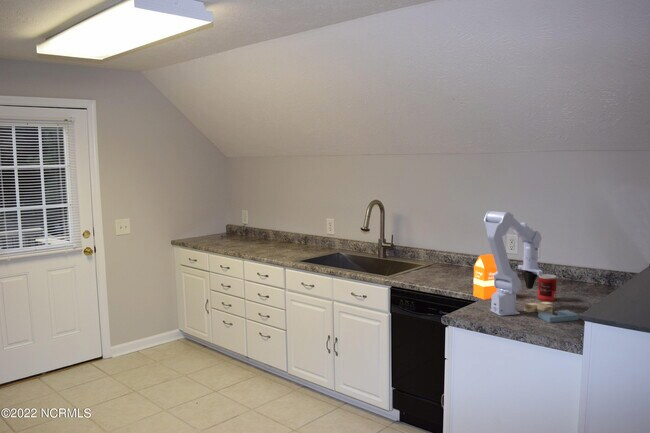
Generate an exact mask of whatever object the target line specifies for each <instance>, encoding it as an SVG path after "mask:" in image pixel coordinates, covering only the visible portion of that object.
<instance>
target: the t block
mask: <svg viewBox="0 0 650 433" xmlns="http://www.w3.org/2000/svg"><path fill="white" fill-rule="evenodd" d="M523 311H524V312H527V313H540V312H548V313H551V314H554V313H553V311H554V303H553V302H552V301H542V302H530V303H529V302H528V303H527V302H526V303H523Z"/></svg>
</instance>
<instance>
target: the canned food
mask: <svg viewBox="0 0 650 433" xmlns="http://www.w3.org/2000/svg"><path fill="white" fill-rule="evenodd" d="M537 298H538V300H540V301H542V302H554V301H556V299H557V275H554V274H548V273H543V275H540V276H538V284H537Z"/></svg>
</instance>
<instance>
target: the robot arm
mask: <svg viewBox="0 0 650 433" xmlns="http://www.w3.org/2000/svg"><path fill="white" fill-rule="evenodd" d="M483 218H484V219H483V223H484V226H485V231H486V234H487V235H486V236H487V240H488V244H489V248H490V250H491V253H492V254H493V258H494V261H495V265H496V268H497V272H496V273H495V274H494V276H493V277H494V286H495V288H496V289H497V291H498V292H496V293H493V294H492V298H491V299H490V300H491V304H490V306H491V307H490V309H489V310H490V312H492V313H494V314H496V315H498V316H500V317H501V316H511V315H520V314H521V312H519V311H517V293H519V291H520V290H521V289H522V288H521V287H522V281H521V279H520V278H519V276H518V273H516V272H515V271H514V270H513V269H511V264H510V262H509V261H510V260H509V257H508V253H507V251H506V246H505V243H504V239H503V236H506V235H507V233H508V231H509V229H510V228H511V229H512V230H513V232H514V234H515V235H516V236H518V237H519V238H520V240H521V242H522V243H523V261H522V263H523V264H518V268H517V269H518V270H522V272H521V275H522V277H523V279H524V283H525V287H526V289H527V290H531V289H534V284H535V281H536V279H537V278H538V277H539V276H540V275H543V274H544V273H543V272H544V270H541V269H540V267H538V261H539V260H538V258H539V257H538V256H539V252H538V251H539V248H540V244H541V241H542V234H541V233H540V232H539V231H537V230H534V229H533V228H532V227H530V226H529V225H528V223H526V222H519V221H518V220H517V219H515V217H514V214H513V213H511V212H510V211H509V212H508V211H507V212H506V211H505V212H504V211H496V210H495V211H494V210H488V211H487V212H486V213H485V216H484V217H483Z"/></svg>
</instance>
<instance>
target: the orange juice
mask: <svg viewBox="0 0 650 433" xmlns="http://www.w3.org/2000/svg"><path fill="white" fill-rule="evenodd" d="M496 272H497V268H496V265H495V261H494V258H493V254H491V253H490V254H480V255H479V256H478V258H477V260H476V262H475V264H474V265H473V297H475V298H476V297H477V298H478V299H481V300H491V298H492V294H493V293H496V292H498V291H497V289H496V288H495V286H494V277H493V276H494V274H495V273H496Z"/></svg>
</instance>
